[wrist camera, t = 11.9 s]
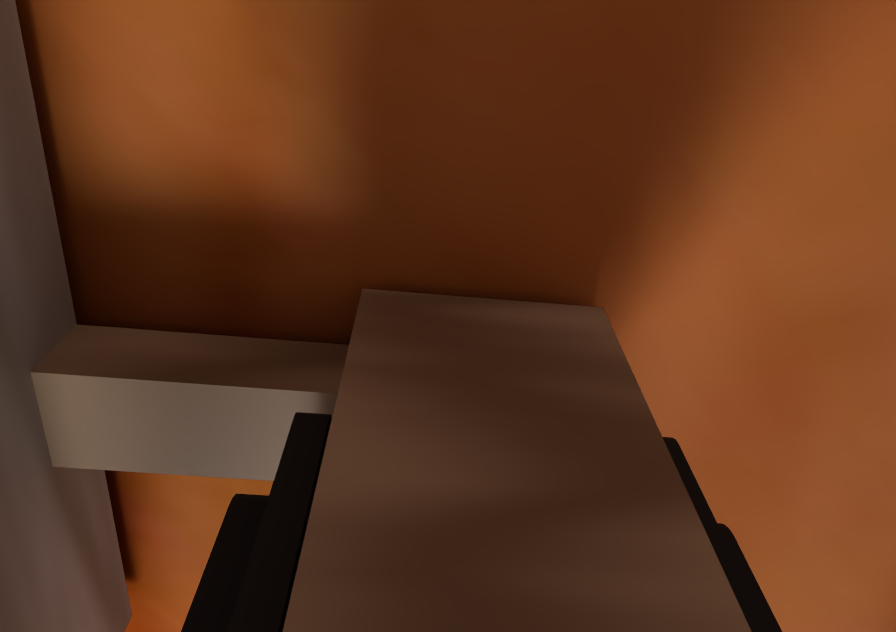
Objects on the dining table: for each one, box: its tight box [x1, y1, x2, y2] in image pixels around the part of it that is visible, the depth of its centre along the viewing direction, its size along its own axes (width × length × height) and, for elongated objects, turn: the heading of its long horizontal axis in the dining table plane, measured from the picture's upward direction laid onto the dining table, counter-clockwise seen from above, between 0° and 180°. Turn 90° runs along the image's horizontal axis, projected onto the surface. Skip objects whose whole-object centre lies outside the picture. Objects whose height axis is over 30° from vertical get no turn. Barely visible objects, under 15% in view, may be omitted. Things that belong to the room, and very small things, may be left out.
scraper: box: [0, 0, 751, 632], centre depth 9 cm, size 11×14×10 cm
